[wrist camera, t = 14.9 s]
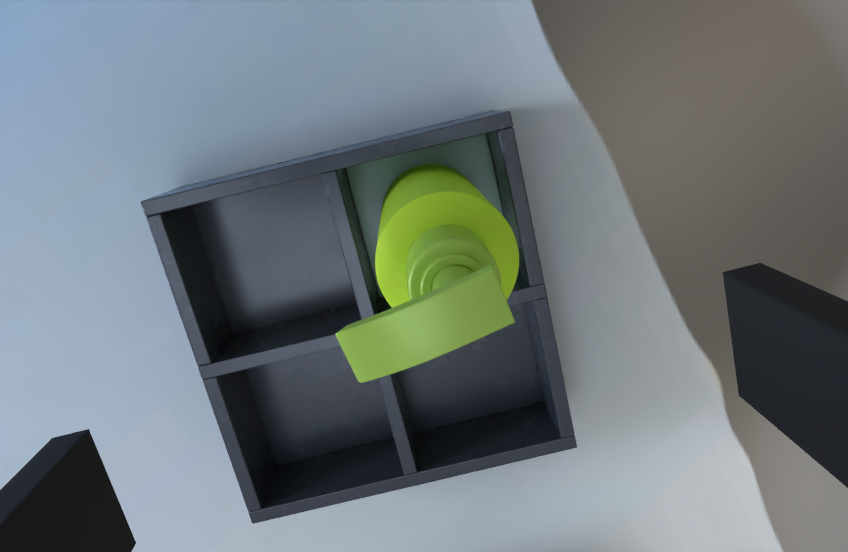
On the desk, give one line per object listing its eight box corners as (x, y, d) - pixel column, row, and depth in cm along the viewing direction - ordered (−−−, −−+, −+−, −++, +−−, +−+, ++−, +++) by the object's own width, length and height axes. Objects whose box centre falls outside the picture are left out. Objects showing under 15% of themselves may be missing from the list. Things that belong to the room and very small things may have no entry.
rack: (176, 188, 40) (139, 201, 34) (493, 110, 40) (510, 111, 34) (270, 471, 45) (252, 524, 39) (554, 404, 44) (577, 447, 39)
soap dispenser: (349, 195, 40) (304, 281, 20) (457, 147, 39) (518, 188, 20) (390, 283, 41) (384, 443, 22) (495, 238, 41) (585, 360, 21)
